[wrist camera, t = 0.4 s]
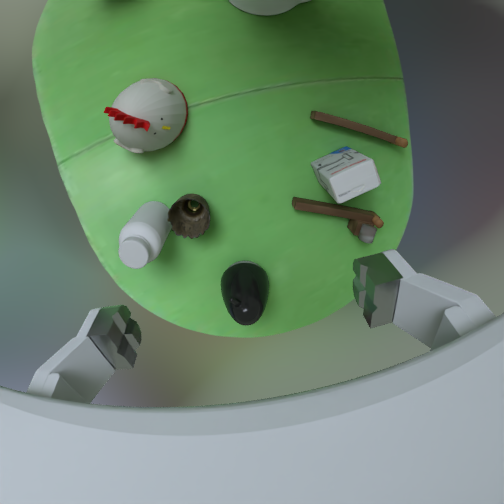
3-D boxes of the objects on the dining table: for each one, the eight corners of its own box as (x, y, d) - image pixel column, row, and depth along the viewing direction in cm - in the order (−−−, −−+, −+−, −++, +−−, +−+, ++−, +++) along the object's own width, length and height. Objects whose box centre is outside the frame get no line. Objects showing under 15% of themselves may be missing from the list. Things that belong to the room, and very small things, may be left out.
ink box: (347, 145, 47) (374, 157, 37) (355, 167, 50) (383, 184, 40) (309, 162, 49) (328, 178, 39) (318, 184, 51) (338, 205, 41)
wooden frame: (311, 110, 44) (323, 110, 38) (395, 136, 46) (415, 142, 40) (288, 217, 55) (295, 233, 48) (368, 230, 57) (381, 245, 51)
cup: (171, 191, 50) (161, 205, 43) (207, 181, 50) (202, 194, 43) (183, 224, 54) (175, 243, 47) (217, 215, 54) (214, 233, 47)
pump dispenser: (250, 244, 57) (255, 289, 44) (274, 277, 62) (285, 324, 49) (211, 267, 60) (206, 314, 47) (238, 297, 64) (239, 345, 51)
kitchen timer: (167, 160, 47) (143, 182, 34) (108, 135, 43) (67, 149, 30) (201, 95, 41) (186, 89, 29) (137, 70, 37) (101, 60, 25)
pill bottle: (178, 207, 52) (161, 243, 39) (167, 240, 56) (150, 282, 43) (142, 194, 50) (114, 226, 37) (134, 228, 54) (107, 266, 41)
